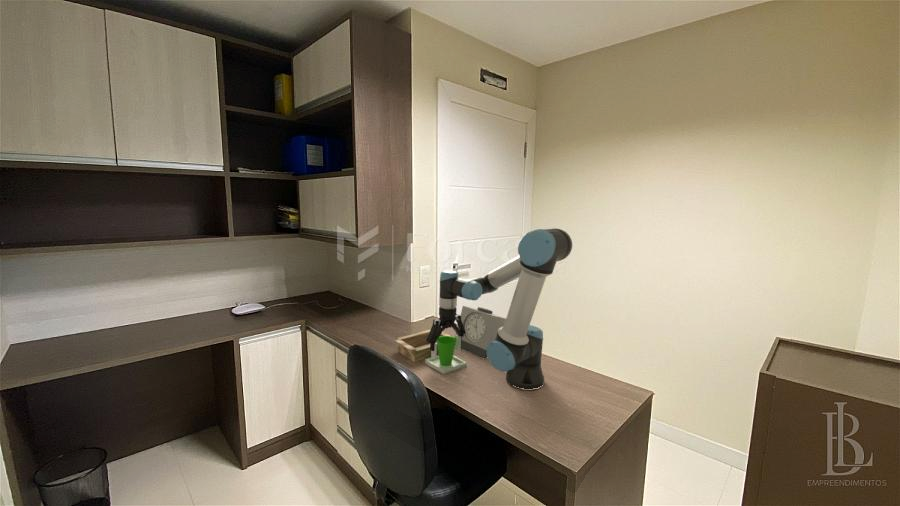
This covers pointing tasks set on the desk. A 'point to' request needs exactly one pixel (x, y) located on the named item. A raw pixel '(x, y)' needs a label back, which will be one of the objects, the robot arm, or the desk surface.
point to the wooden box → (416, 345)
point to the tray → (442, 369)
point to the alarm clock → (479, 329)
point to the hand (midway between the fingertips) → (446, 353)
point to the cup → (446, 349)
